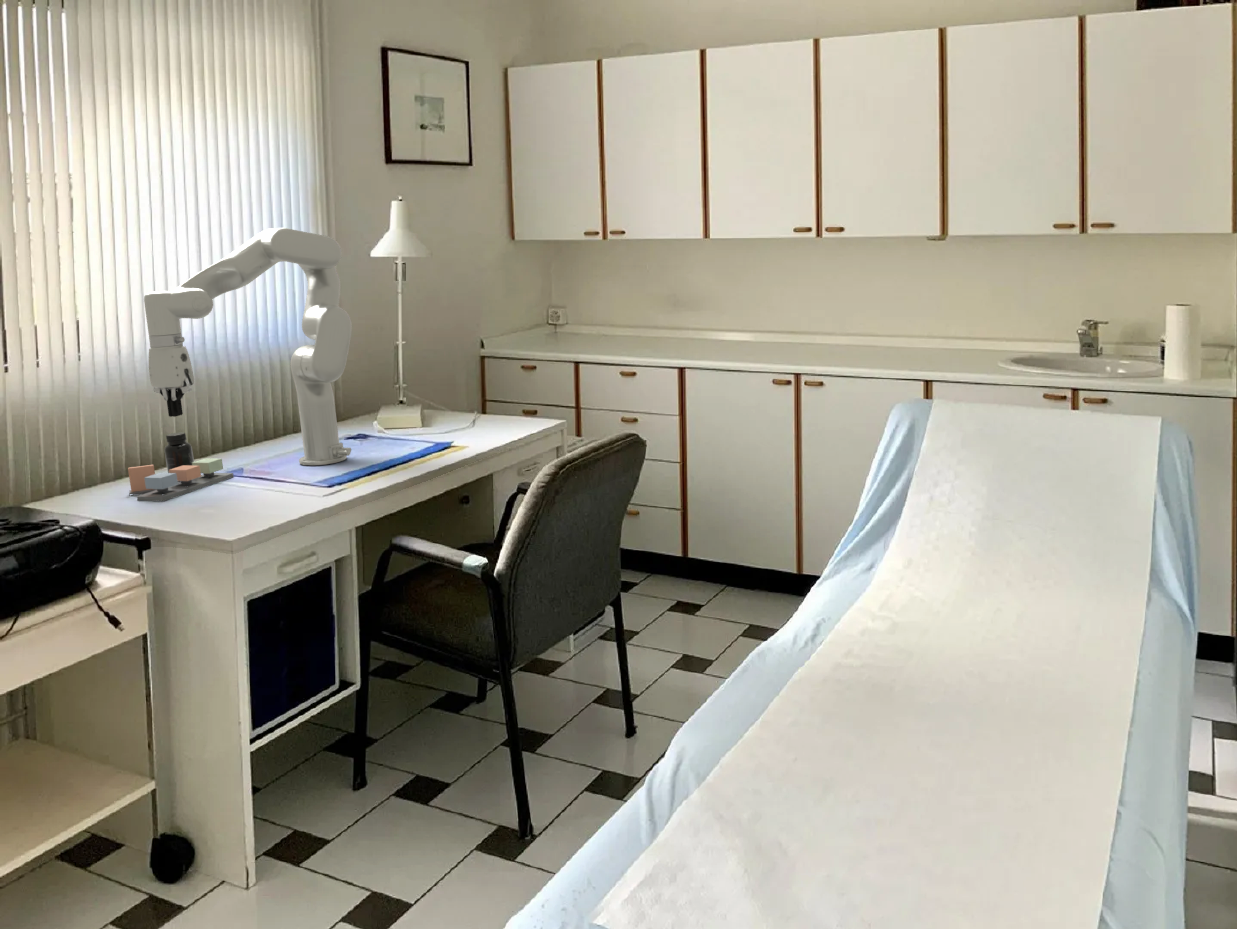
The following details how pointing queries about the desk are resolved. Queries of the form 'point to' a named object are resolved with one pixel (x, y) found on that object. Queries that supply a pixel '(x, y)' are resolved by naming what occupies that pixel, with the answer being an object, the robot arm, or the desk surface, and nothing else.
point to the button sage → (209, 465)
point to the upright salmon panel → (140, 478)
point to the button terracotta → (186, 473)
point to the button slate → (161, 481)
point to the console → (185, 487)
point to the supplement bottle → (178, 451)
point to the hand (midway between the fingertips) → (175, 415)
